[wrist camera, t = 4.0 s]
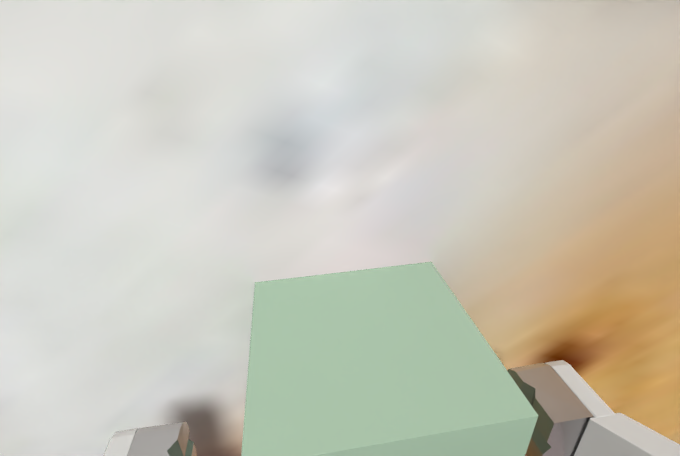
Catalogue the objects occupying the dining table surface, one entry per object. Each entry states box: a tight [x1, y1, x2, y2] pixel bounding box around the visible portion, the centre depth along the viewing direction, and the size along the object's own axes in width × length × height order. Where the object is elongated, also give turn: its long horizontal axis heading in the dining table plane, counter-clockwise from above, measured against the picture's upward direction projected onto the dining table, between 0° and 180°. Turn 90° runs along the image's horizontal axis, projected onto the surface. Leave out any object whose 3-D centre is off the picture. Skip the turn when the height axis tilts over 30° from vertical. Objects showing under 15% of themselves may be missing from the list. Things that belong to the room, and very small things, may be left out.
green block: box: [241, 262, 538, 456], centre depth 9 cm, size 5×5×5 cm
